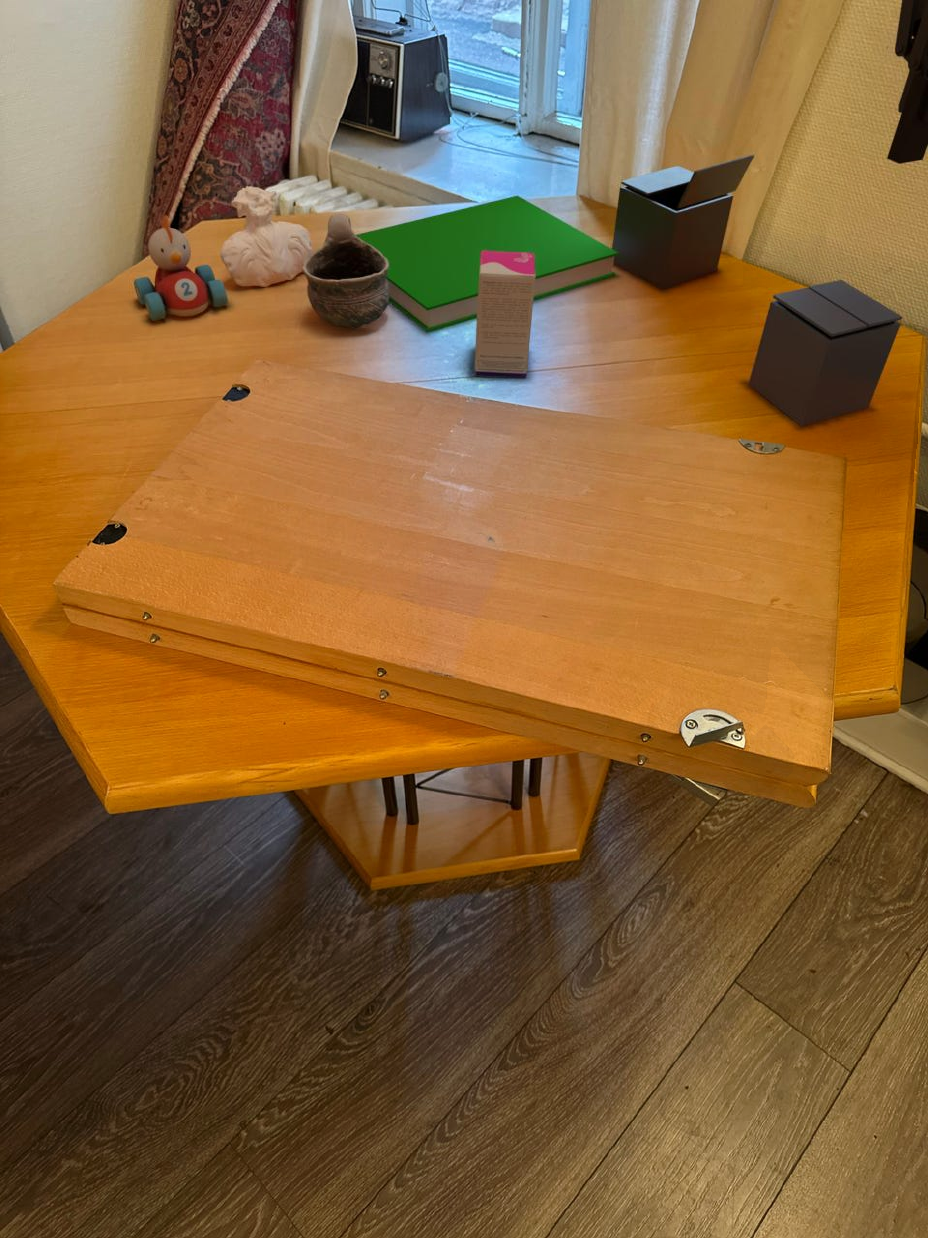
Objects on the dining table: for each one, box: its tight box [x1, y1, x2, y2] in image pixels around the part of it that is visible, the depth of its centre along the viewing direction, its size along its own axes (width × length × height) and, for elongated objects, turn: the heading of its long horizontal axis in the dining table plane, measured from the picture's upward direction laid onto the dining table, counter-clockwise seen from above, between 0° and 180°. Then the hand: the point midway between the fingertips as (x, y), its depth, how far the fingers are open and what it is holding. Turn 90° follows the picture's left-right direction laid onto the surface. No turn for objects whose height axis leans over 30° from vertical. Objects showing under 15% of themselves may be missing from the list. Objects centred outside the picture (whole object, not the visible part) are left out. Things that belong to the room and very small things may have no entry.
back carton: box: [611, 165, 734, 291], centre depth 113 cm, size 10×10×10 cm
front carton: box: [747, 287, 902, 427], centre depth 91 cm, size 9×9×10 cm
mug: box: [302, 213, 389, 329], centre depth 102 cm, size 10×12×10 cm
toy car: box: [133, 215, 229, 322], centre depth 104 cm, size 9×9×10 cm
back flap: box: [677, 154, 755, 208], centre depth 104 cm, size 5×10×1 cm
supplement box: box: [473, 250, 535, 379], centre depth 94 cm, size 6×6×12 cm
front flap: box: [807, 279, 903, 327], centre depth 88 cm, size 4×9×1 cm, turn 25°
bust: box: [219, 185, 313, 288], centre depth 110 cm, size 12×8×11 cm
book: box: [355, 195, 618, 333], centre depth 114 cm, size 22×28×3 cm
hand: (904, 158), depth 78 cm, fingers closed
